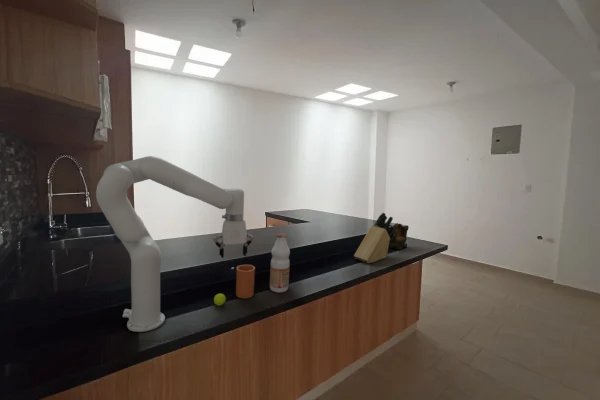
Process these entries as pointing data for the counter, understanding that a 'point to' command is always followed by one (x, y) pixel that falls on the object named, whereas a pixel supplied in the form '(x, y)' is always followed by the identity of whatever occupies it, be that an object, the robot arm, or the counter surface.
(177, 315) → the counter surface
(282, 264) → the fruit juice
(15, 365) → the counter surface
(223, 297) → the ball
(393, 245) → the pottery vessel
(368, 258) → the knife block
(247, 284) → the tube
